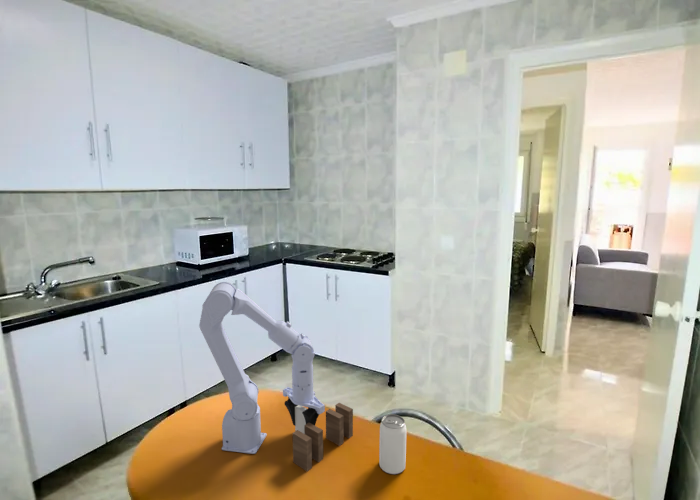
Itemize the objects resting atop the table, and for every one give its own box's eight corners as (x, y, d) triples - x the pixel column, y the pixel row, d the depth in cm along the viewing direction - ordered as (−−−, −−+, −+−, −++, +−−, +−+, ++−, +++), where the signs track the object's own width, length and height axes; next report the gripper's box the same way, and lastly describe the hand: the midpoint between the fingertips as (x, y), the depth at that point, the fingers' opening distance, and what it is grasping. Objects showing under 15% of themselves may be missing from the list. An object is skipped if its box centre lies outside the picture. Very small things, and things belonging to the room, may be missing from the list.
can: (404, 477, 87) (406, 430, 85) (377, 473, 88) (378, 427, 86) (406, 458, 93) (407, 414, 91) (380, 454, 94) (381, 411, 93)
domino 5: (349, 438, 101) (349, 411, 100) (335, 431, 104) (335, 405, 103) (352, 435, 102) (352, 408, 101) (339, 428, 105) (339, 402, 104)
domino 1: (307, 440, 100) (307, 413, 99) (295, 433, 103) (294, 407, 102) (312, 438, 101) (311, 411, 100) (299, 430, 104) (299, 404, 103)
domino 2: (307, 471, 89) (306, 441, 87) (293, 462, 92) (292, 433, 91) (311, 468, 90) (311, 438, 89) (297, 458, 93) (297, 429, 92)
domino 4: (339, 446, 98) (339, 418, 97) (325, 438, 101) (325, 411, 100) (343, 442, 99) (343, 415, 98) (329, 435, 102) (329, 408, 101)
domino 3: (318, 462, 92) (318, 433, 91) (304, 453, 95) (304, 425, 94) (323, 459, 93) (322, 430, 92) (309, 450, 96) (308, 422, 95)
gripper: (332, 384, 98) (332, 431, 100) (295, 368, 107) (296, 411, 109) (313, 395, 93) (314, 444, 95) (276, 377, 102) (277, 422, 104)
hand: (303, 427), depth 102 cm, fingers closed on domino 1, 5 cm apart
